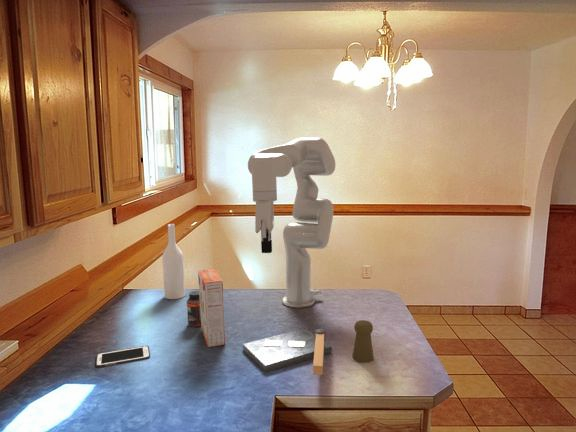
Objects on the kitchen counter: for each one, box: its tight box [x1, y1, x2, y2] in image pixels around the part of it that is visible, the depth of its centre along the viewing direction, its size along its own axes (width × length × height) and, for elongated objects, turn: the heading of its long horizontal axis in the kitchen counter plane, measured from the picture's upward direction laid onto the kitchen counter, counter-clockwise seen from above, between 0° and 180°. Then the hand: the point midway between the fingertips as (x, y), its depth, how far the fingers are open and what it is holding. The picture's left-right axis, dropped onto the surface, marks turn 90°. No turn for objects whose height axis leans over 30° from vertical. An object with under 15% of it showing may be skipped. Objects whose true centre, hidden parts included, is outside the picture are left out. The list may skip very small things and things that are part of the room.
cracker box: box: [197, 268, 226, 348], centre depth 137 cm, size 14×6×21 cm, turn 19°
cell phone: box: [95, 345, 151, 368], centre depth 127 cm, size 8×15×1 cm, turn 111°
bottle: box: [162, 223, 186, 300], centre depth 175 cm, size 8×8×30 cm
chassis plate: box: [242, 328, 333, 373], centre depth 129 cm, size 22×15×4 cm
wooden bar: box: [312, 328, 327, 376], centre depth 119 cm, size 22×3×3 cm, turn 174°
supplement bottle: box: [186, 290, 201, 328], centre depth 149 cm, size 6×6×11 cm
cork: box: [352, 319, 375, 364], centre depth 124 cm, size 6×6×11 cm
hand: (266, 252), depth 139 cm, fingers closed
